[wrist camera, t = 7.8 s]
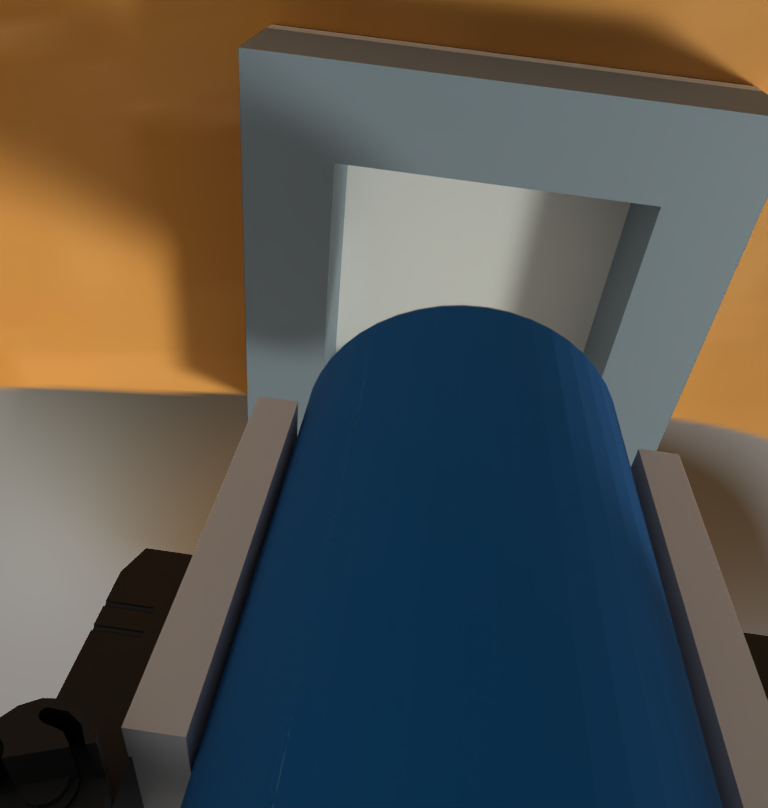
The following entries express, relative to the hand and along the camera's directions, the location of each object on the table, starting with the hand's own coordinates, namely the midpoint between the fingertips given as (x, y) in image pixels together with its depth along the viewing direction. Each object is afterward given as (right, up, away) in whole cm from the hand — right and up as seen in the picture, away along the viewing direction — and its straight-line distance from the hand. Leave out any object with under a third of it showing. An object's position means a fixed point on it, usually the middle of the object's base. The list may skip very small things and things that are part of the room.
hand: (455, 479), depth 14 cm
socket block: (+1, +5, +7) cm, 9 cm away
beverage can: (0, +1, +2) cm, 2 cm away
